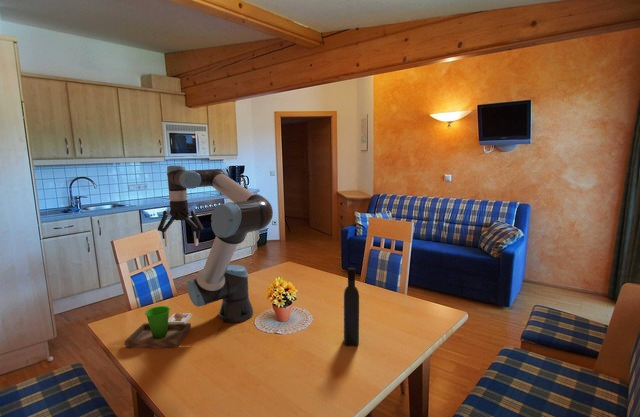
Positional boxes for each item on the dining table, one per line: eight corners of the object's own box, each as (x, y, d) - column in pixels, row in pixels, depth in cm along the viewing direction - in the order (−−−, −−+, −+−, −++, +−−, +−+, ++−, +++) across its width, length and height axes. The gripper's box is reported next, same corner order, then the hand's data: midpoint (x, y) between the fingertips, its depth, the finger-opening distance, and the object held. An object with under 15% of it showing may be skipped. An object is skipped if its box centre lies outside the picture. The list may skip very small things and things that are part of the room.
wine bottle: (357, 338, 139) (358, 266, 134) (359, 346, 133) (359, 271, 128) (343, 338, 139) (343, 266, 134) (344, 346, 133) (344, 271, 128)
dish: (191, 317, 158) (191, 313, 158) (184, 325, 150) (184, 321, 150) (174, 317, 158) (173, 313, 158) (166, 325, 150) (165, 322, 150)
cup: (163, 343, 135) (160, 316, 133) (142, 341, 137) (139, 314, 135) (176, 331, 144) (174, 306, 142) (157, 329, 146) (155, 304, 144)
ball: (184, 318, 156) (184, 310, 155) (181, 322, 152) (180, 314, 152) (176, 318, 156) (176, 310, 155) (173, 322, 152) (172, 314, 152)
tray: (191, 329, 147) (190, 323, 147) (177, 347, 133) (176, 340, 133) (144, 329, 148) (143, 323, 147) (125, 347, 134) (124, 340, 133)
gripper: (208, 198, 160) (211, 243, 163) (155, 198, 161) (158, 243, 164) (203, 200, 153) (206, 247, 156) (146, 201, 153) (151, 247, 157)
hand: (181, 245), depth 160 cm, fingers open, 13 cm apart
